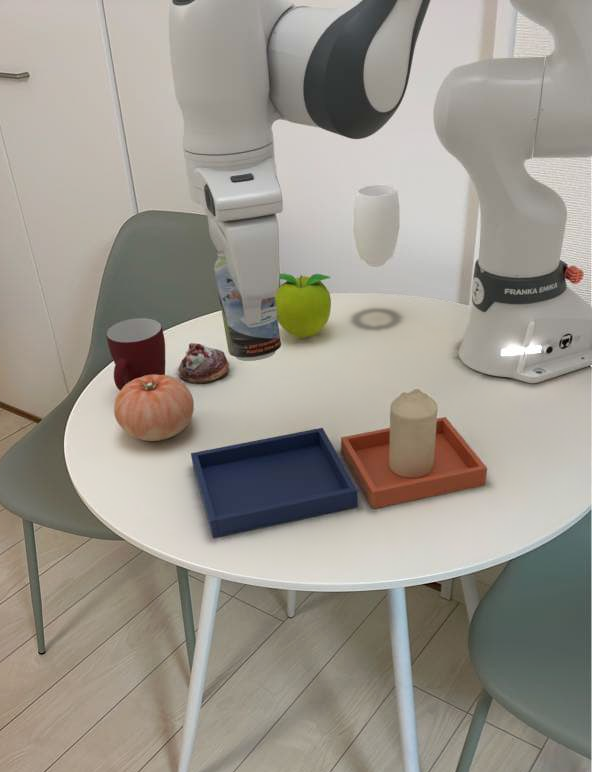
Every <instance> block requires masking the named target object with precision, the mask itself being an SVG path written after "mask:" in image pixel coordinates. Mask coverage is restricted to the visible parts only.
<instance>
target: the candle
mask: <svg viewBox="0 0 592 772" xmlns="http://www.w3.org/2000/svg"><path fill="white" fill-rule="evenodd" d="M389 407H390V409H389V428H390V446H389V465H390V469H391V470H392V471H393V472H394V473H395V474H397V475H399V476H402V477H407V478H417V477H422V476H424V475H427V474H428V473H429V472H431V470H432V468H433V464H434V452H435V438H436V424H437V418H438V408H439V406H438V403H437V402H436V401H435V400H434V399H433V398H432V397H431V396H430V395H429V394H428V393H424V392H423V391H422V390H421V389H419V388H416V389H413V390H411V391H409V392H405V391H403V392H401V394H400V395H399V396H397V397H396V398H395V399H393V400H392V401H391V403H390V406H389Z"/></svg>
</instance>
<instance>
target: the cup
mask: <svg viewBox="0 0 592 772" xmlns="http://www.w3.org/2000/svg"><path fill="white" fill-rule="evenodd" d="M355 194H356V195H355V202H354V206H353V207H354V209H353V233H354V234H353V235H354V241H355V247H356V250H357V253H358V255H359V258H360V259H361V260H362V261H364V262H365V263H366V264H367V265H368V266H369V267H373V268H378V267H382V266H384V265H385V264H386V263H387V262H388V261H389V260H391V259H392V258H393V256H394V253H395V250H396V247H397V244H398V243H397V242H398V237H399V232H400V221H401V220H400V200H399V192H398V188H397V187H395V186H393V185H390V184H383V183H381V184H380V183H376V184H375V183H374V184H368V185H364V186H361V187H359V188H357V190H356V193H355Z"/></svg>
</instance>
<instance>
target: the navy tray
mask: <svg viewBox="0 0 592 772" xmlns="http://www.w3.org/2000/svg"><path fill="white" fill-rule="evenodd" d="M190 457H191V463H192V469H193V473H194V475H195V476H194V477H195V480H196V483H197V486H198V490H199V494H200V498H201V501H202V504H203V508H204V511H205V515H206V519H207V522H208V525H209V531H210V533H211V536H212V539H215V538H219V537H224V536H228V535H232V534H237V533H243V532H247V531H252V530H257V529H263V528H266V527H270V526H276V525H281V524H285V523H290V522H294V521H298V520H304V519H308V518H313V517H318V516H322V515H327V514H332V513H337V512H340V511H341V512H342V511H346V510H350V509H355V508H358V507H359V499H358V497H359V493H358V488H357V487H356V485H355V483H354V482H353V480H352V478H351V476H350V474H349V472H348V470H347V469H346V467H345V465H344V464H343V461H342V460H341V457H340V456H339V454H338V452H337V451H336V449H335V447H334V445H333V444H332V442H331V440H330V438H329V436H328V434H327V433H326V431H325V430H324V428H323V427H319V428H313V429H308V430H303V431H297V432H293V433H287V434H282V435H277V436H271V437H267V438H262V439H257V440H252V441H247V442H246V441H245V442H241V443H236V444H232V445H225V446H220V447H216V448H211V449H204V450H199V451H196V452H191V453H190Z"/></svg>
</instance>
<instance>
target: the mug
mask: <svg viewBox="0 0 592 772" xmlns="http://www.w3.org/2000/svg"><path fill="white" fill-rule="evenodd" d="M105 333H106V334H105V335H106V342H107V345H108V349H109V353H110V356H111V358H112V360H113V363H114V368H113V381H114V384H115V387H116V389H118V391H119V392H120V391H121V390H122V388H123V387H124V386H125V385H126V384H127V383H129V382H130V381H132V380H134V379H136V378H140V377H143V376H146V375H155V374H156V375H166V341H165V334H164V330H163V325H162V323H161V322H159V320H156V319H154V318H148V317H137V318H136V317H135V318H129V319H125V320H121V321H120V322H117V323H115V324H113V325H111V326H110V327H108V329H107V331H106V332H105Z"/></svg>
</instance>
